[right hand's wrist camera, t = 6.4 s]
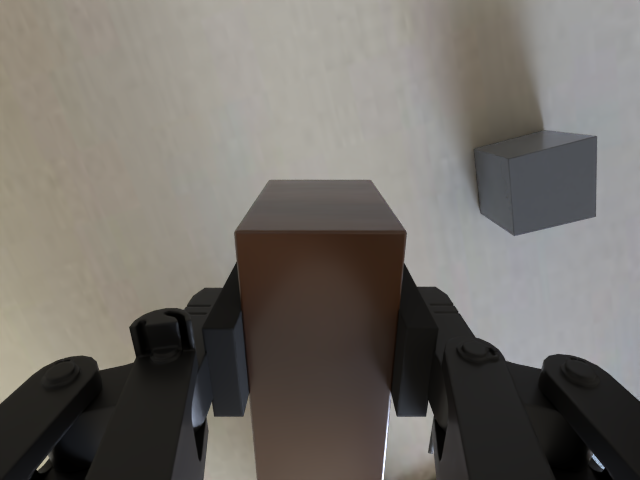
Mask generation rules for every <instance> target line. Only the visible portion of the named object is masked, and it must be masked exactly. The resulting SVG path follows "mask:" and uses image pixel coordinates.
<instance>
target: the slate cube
mask: <svg viewBox="0 0 640 480" xmlns="http://www.w3.org/2000/svg"><path fill="white" fill-rule="evenodd" d="M474 156H475V165H476V174H477V184H478V193H479V202H480V211H481V214H482V215H484V216H485V217H487V218H488V219H490V220H491V221H493V222H494V223H496V224H497V225H499V226H500V227H502V228H503V229H505V230H506V231H507V232H509V233H510V234H512V235H513V236H516V235H521V234H525V233H529V232H533V231H537V230H542V229H546V228H550V227H554V226H558V225H563V224H567V223H571V222H575V221H579V220H584V219H588V218H592V217H596V169H597V136H592V135H583V134H574V133H565V132H556V131H548V130H544V131H540V132H536V133H532V134H528V135H525V136H521V137H517V138H513V139H509V140H506V141H502V142H498V143H494V144H490V145H487V146H483V147H479V148H475V149H474Z"/></svg>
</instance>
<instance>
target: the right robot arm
mask: <svg viewBox="0 0 640 480" xmlns="http://www.w3.org/2000/svg"><path fill="white" fill-rule="evenodd" d="M129 328H130V333H131V337H132V341H133V346H134V350H135V354H136V359H135V361H134V363H131V364H127V365H123V366H119V367H114V368H109V369H105V370H100V371H99V368H98V365H97V362H96V361H95V360H94V359H93V358H92V357H87V356H73V357H68V358H64V359H60V360H57V361H55V362H53V363H51V364H49V365H47V366H45V367H43V368H42V369H40V370H39V371H38V372H36V373H35V374H33V375H32V376H31V377H30V378H29V379H28V380H27V381H25V382H24V383H23V384H22V385H21V386H20V387H19V388H18V389H17V390H15V391H14V392H13V393H12V394H11V395H10V396H9V397H8V398H7V399H5V400H4V401H3V402H2V403H1V404H0V480H203V479H204V469H205V459H206V450H207V440H208V425H207V418H206V416H207V414H208V411H209V408H210V405H211V403H212V405H213V411H214V417H243V416H244V412H245V408H246V404H247V399H248V395H249V386H248V375H247V364H246V354H245V343H244V332H243V321H242V310H241V301H240V290H239V280H238V269H237V262H236V264H235V266H234V268H233V270H232V272H231V273H230V275H229V277H228V279H227V281H226V283H225V285H224V287H223V288H204V289H203V290H201V291H200V292H198V293H197V294H195V295H194V296H193V297H192V299H191V300H190V302H189V303H188V305H187V307H186V308H185V309H184V310H182V309H178V308H165V309H160V310H155V311H152V312H150V313H147V314H145V315H143V316H141V317H140V318H138V319H137V320H135V321H134V322H133V323H132V325H131V326H130V327H129ZM391 394H392V399H393V403H394V407H395V411H396V415H397V417H426V413H427V406H428V400H429V403H430V406H431V408H432V411H433V414H434V418H433V424H432V431H431V437H430V444H429V450H428V453H431V454H433V450H434V459H435V468H436V478H437V480H640V401H639V400H638V399H636V398H635V397H634V396H633V395H632V394H631V393H630V392H629V391H627V390H626V389H625V388H624V387H623V386H622V385H621V384H620V383H618V382H617V381H616V380H615V379H614V378H613V377H612V376H611V375H609V374H608V373H607V372H606V371H604V370H603V369H601V368H600V367H599V366H597V365H595V364H593V363H591V362H589V361H587V360H585V359H582V358H579V357H575V356H571V355H562V354H556V355H551V356H548V357H547V358H546V359H545V360H544V362H543V366H542V369H538V368H533V367H529V366H524V365H519V364H515V363H511V362H508V361H505V358H504V356H503V355H502V353H501V352H500V351H499V349H497V348H496V347H495V346H493V345H492V344H490V343H488V342H486V341H484V340H482V339H479V338H475V336H474V335H473V333H472V332H471V330H470V328H469V327H468V325H467V324H466V322H465V321H464V319H463V318H462V316H461V315H460V314H458V310H457V309H456V307H455V306H453V303H452V301H451V300H450V298H449V297H448V295H447V294H445V293H444V292H442V291H441V290H439V289H438V288H437V287H417V286H416V284H415V283H414V281H413V279H412V277H411V275H410V273H409V271H408V269H407V267H406V265H405V264H404V268H403V278H402V289H401V299H400V309H399V316H398V327H397V337H396V348H395V359H394V370H393V380H392V391H391ZM592 454H594V455H595V456H596V457H597V459H598V460H599V461H600V462H601V463H602V465H603V466H604V467H605V469H604V470H603V469H602V468H601V467H600V466H599V465H598V464H597V463H596V462H595V461H594V460H593V458H592ZM47 455H48V456H49V459H48V461H47V462H46V463H45V464H44V466H42V467H41V468H40V469H39V470H38V471H37V470H36V469H37V468H38V466H39V465H40V464H41V463H42V462H43V460H44V459H45V458H46V457H47Z"/></svg>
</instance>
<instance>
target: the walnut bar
mask: <svg viewBox="0 0 640 480" xmlns="http://www.w3.org/2000/svg"><path fill="white" fill-rule="evenodd" d="M234 236H235V247H236V258H237V269H238V280H239V290H240V301H241V310H242V321H243V332H244V343H245V354H246V364H247V375H248V386H249V399H250V409H251V420H252V431H253V442H254V453H255V463H256V474H257V480H383V479H384V468H385V458H386V447H387V437H388V426H389V415H390V405H391V391H392V380H393V370H394V359H395V348H396V337H397V327H398V316H399V309H400V299H401V289H402V278H403V268H404V257H405V246H406V236H407V233H406V230H405V229H404V227H403V226H402V224H401V223H400V222H399V220H398V219H397V217H396V216H395V214H394V213H393V211H392V210H391V208H390V207H389V206H388V204H387V203H386V201H385V200H384V198H383V197H382V195H381V194H380V192H379V191H378V190H377V188H376V187H375V185H374V184H373V182H372V181H371V180H269V181H268V183H267V184H266V186H265V187H264V189H263V190H262V192H261V193H260V195H259V196H258V198H257V199H256V201H255V202H254V204H253V205H252V206H251V208H250V209H249V211H248V212H247V214H246V215H245V217H244V218H243V220H242V221H241V223H240V224H239V226H238V227H237V229H236V230H235V232H234Z"/></svg>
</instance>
